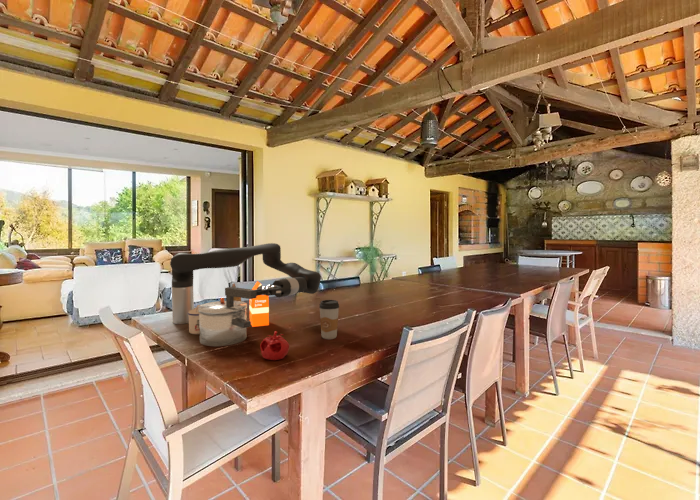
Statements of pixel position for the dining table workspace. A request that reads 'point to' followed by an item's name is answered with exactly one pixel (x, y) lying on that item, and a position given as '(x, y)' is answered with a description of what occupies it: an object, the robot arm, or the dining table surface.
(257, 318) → the orange juice
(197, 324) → the teacup with lid
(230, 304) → the cooker lid
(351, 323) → the dining table surface
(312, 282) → the robot arm
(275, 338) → the pomegranate
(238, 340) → the cooker pot
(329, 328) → the coffee cup
